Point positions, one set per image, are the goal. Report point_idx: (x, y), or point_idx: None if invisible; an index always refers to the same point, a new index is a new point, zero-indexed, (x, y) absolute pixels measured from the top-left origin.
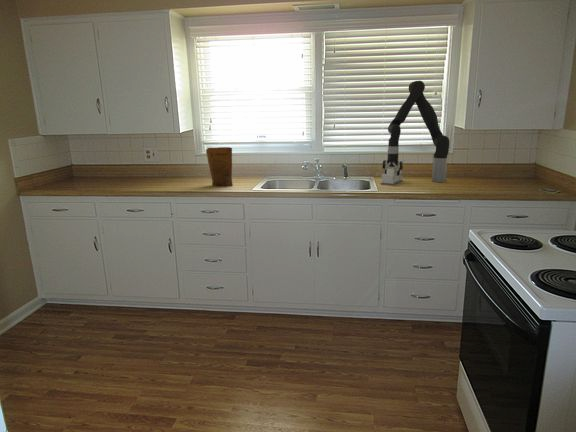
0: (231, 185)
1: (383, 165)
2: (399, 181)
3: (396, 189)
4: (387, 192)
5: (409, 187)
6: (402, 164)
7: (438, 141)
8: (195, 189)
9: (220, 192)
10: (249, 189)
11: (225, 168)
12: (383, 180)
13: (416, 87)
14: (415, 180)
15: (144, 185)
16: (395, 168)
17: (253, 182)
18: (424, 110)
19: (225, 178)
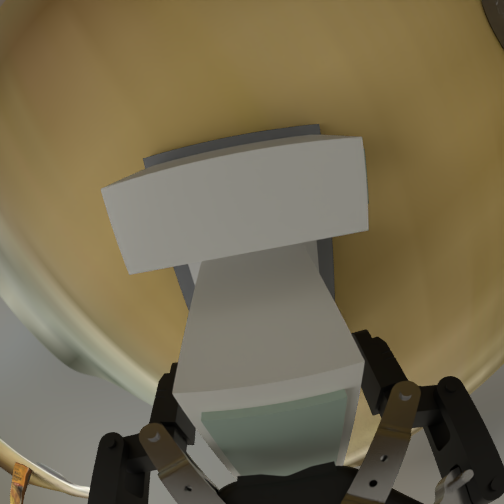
0: (30, 469)
1: (137, 498)
2: (331, 243)
3: (381, 418)
4: (358, 455)
5: (441, 347)
6: (488, 442)
7: None
8: (44, 482)
9: (77, 495)
10: (69, 486)
11: (24, 494)
12: None
13: None
14: (400, 22)
15: (7, 465)
16: (339, 432)
17: (3, 445)
18: None
19: (28, 481)
